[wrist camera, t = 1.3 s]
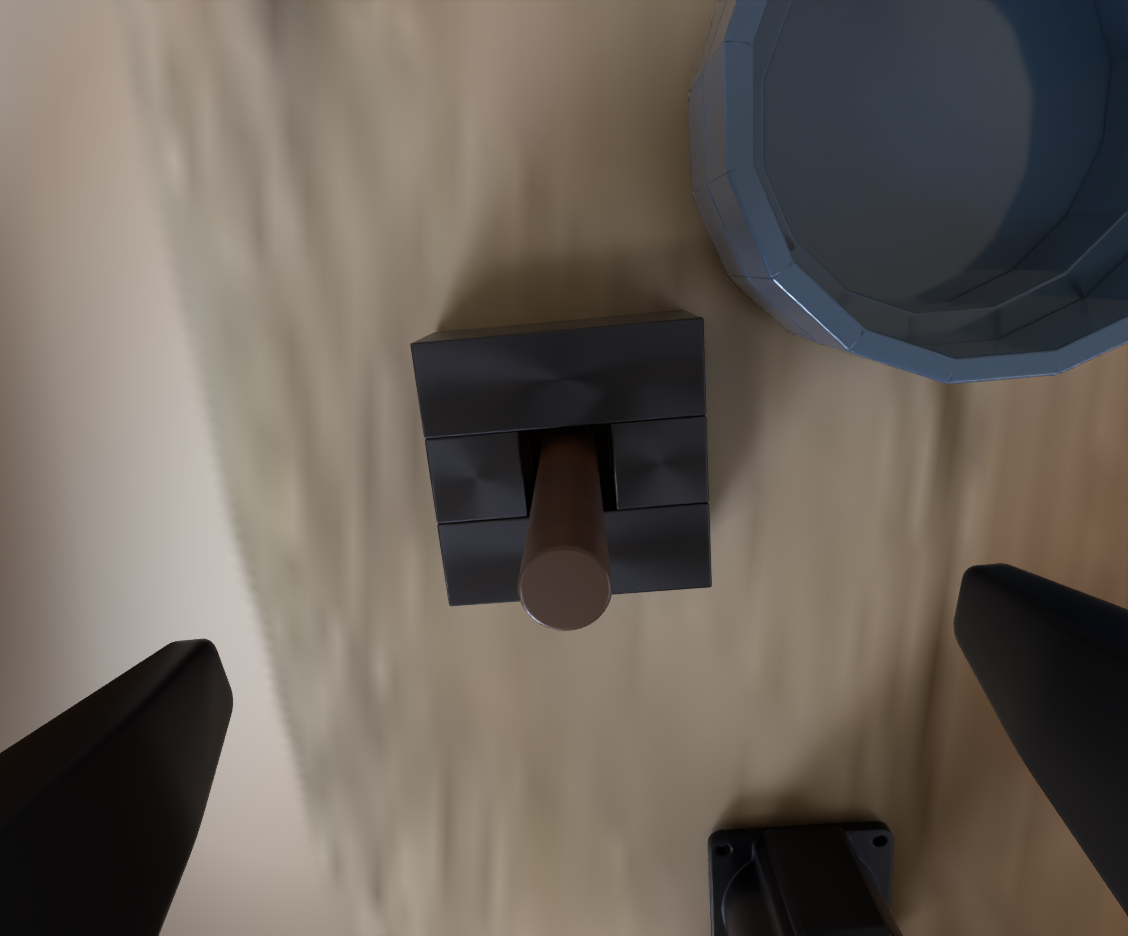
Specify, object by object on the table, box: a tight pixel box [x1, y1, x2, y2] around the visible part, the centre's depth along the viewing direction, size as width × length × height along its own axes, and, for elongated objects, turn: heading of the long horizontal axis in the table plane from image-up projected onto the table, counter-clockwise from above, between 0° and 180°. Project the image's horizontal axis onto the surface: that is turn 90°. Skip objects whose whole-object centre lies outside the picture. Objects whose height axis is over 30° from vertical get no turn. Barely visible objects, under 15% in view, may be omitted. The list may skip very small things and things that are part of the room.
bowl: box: [688, 0, 1128, 384], centre depth 16 cm, size 12×12×5 cm
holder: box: [411, 310, 712, 606], centre depth 20 cm, size 7×7×3 cm
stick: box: [518, 425, 612, 631], centre depth 16 cm, size 2×2×10 cm
